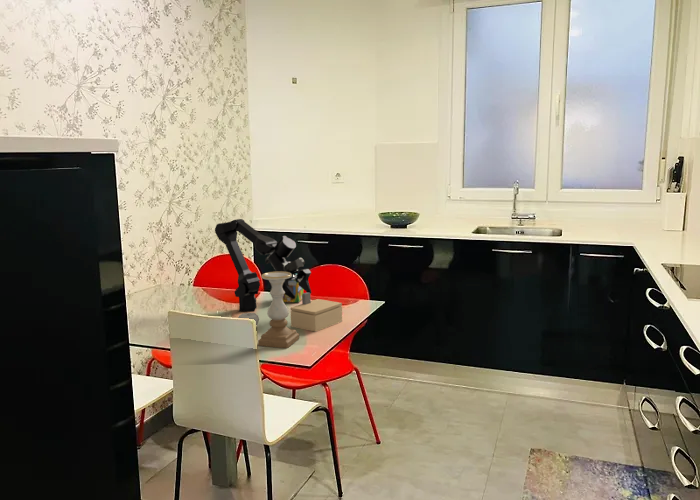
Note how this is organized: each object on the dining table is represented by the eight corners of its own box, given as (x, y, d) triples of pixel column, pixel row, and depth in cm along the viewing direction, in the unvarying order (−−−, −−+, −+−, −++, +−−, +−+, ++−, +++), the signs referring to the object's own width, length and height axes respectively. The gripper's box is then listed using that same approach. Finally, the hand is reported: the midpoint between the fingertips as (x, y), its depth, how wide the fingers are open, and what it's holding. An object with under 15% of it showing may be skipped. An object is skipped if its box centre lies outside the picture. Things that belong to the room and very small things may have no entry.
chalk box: (298, 303, 249) (297, 270, 247) (278, 302, 251) (277, 269, 248) (304, 298, 258) (303, 266, 256) (285, 297, 260) (284, 265, 257)
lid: (290, 310, 213) (290, 297, 212) (317, 301, 226) (317, 289, 225) (315, 314, 206) (314, 301, 205) (341, 305, 219) (341, 292, 218)
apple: (239, 327, 214) (238, 310, 213) (260, 327, 214) (259, 310, 213) (236, 334, 206) (236, 316, 205) (258, 333, 206) (258, 315, 205)
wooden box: (291, 326, 214) (290, 310, 213) (318, 316, 227) (317, 302, 226) (315, 331, 207) (315, 315, 206) (342, 321, 220) (341, 306, 219)
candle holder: (271, 336, 203) (268, 270, 199) (299, 338, 200) (297, 271, 196) (257, 345, 192) (254, 276, 189) (287, 348, 189) (285, 278, 186)
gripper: (274, 255, 213) (297, 287, 208) (306, 248, 227) (329, 278, 223) (260, 274, 219) (282, 305, 214) (292, 266, 233) (314, 295, 228)
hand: (302, 295), depth 219 cm, fingers open, 9 cm apart
